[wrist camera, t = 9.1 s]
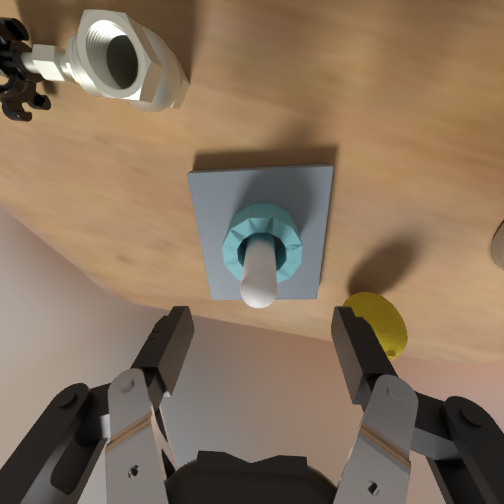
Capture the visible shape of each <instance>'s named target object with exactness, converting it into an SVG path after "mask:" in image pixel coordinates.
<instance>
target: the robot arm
mask: <svg viewBox="0 0 504 504" xmlns="http://www.w3.org/2000/svg"><path fill="white" fill-rule="evenodd" d="M491 254H492V258H493V260H494V262H495V263H496V264H497V265H498V266H499V267H500V268H502V269H504V223H503V224H502V226H501V227H500V228H499V230H498V231H497V233H496V235H495V237H494V239H493V242H492V247H491ZM193 334H194V324H193V320H192V316H191V313H190V309H189V307H188V306H174V307H173V308H172V310H171V312H170V314H169V315H168V316H163V317H162V318H161V319H160V320H159V321H158V322H157V323H156V324H155V326H154V328H153V330H152V333H150V335H149V337H148V340H146V342H145V344H144V346H143V347H142V349H141V351H140V352H139V354H138V356H137V358H136V359H135V361H134V363H133V364H132V366H131V368H130V369H128V370H126V371H124V372H122V373H121V374H119V375H118V376H117V377H116V378H115V379H114V380H113V381H112V383H109V384H105V385H102V386H98V387H95V388H92V389H89V388H88V387H87V385H86V384H83V383H77V384H73V385H71V386H69V387H67V388H65V389H64V390H62V391H61V392H60V393H59V394H57V395H56V397H54V399H53V400H52V401H51V403H50V404H49V405H48V406H47V408H46V409H45V411H44V412H43V413H42V415H41V416H40V417H39V419H38V420H37V421H36V423H35V424H34V425H33V427H32V428H31V429H30V431H29V432H28V433H27V435H26V436H25V438H24V439H23V440H22V441H21V443H20V444H19V445H18V447H17V448H16V450H15V451H14V452H13V454H12V455H11V456H10V458H9V459H8V460H7V462H6V463H5V464H4V466H3V467H2V468H1V470H0V504H77V503H78V500H79V498H80V496H81V494H82V492H83V490H84V488H85V486H86V483H87V481H88V479H89V477H90V475H91V473H92V471H93V468H94V466H95V464H96V462H97V460H98V458H99V456H100V454H101V451H102V449H103V447H104V445H105V443H106V441H107V439H108V437H110V436H111V440H110V443H108V444H107V446H106V449H105V466H106V489H107V504H405V503H406V497H407V490H408V484H409V479H410V472H411V462H410V461H409V453H410V450H412V451H415V452H417V453H420V454H422V455H424V456H426V459H427V461H428V463H429V465H430V467H431V470H432V472H433V474H434V477H435V479H436V481H437V484H438V486H439V488H440V491H441V493H442V495H443V498H444V500H445V502H446V504H504V433H503V432H502V431H501V429H500V428H499V427H498V425H497V424H496V423H495V421H494V420H493V418H492V417H491V416H490V415H489V414H488V413H487V412H486V411H485V410H484V409H483V408H481V407H480V406H479V405H477V404H476V403H474V402H472V401H470V400H468V399H466V398H463V397H459V396H452V397H449V398H447V400H446V401H445V402H444V401H441V400H438V399H435V398H432V397H429V396H426V395H423V394H420V393H418V392H416V391H414V390H413V389H412V388H411V387H410V386H409V385H408V384H407V383H406V382H405V381H403V380H402V379H400V378H399V377H398V375H397V374H396V372H395V370H394V368H393V366H392V365H391V363H390V361H389V359H388V357H387V355H386V353H385V351H384V349H383V347H382V346H381V344H380V343H379V340H378V338H377V336H376V335H375V332H374V330H373V329H372V327H371V325H370V324H369V323H368V322H367V321H366V320H365V319H364V318H363V317H356V316H355V314H354V312H353V310H352V308H351V307H350V306H335V308H334V313H333V319H332V324H331V334H332V339H333V342H334V345H335V348H336V351H337V355H338V358H339V361H340V365H341V368H342V371H343V374H344V377H345V380H346V384H347V387H348V390H349V394H350V397H351V400H352V403H353V404H359V405H361V406H362V409H363V412H364V414H363V417H362V419H361V422H360V425H359V428H358V431H357V433H356V436H355V439H354V442H353V444H352V447H351V450H350V453H349V455H348V458H347V461H346V464H345V466H344V469H343V472H342V474H341V477H340V480H339V483H338V485H337V487H336V486H335V485H334V484H333V483H332V482H331V481H330V480H329V479H328V478H327V477H326V476H325V475H323V474H322V473H321V472H319V471H318V470H316V469H314V468H313V467H311V466H308V465H307V458H306V457H301V456H284V455H278V456H275V457H271V458H268V459H264V460H261V461H258V462H254V463H249V462H246V461H244V460H241V459H239V458H237V457H234V456H232V455H230V454H227V453H225V452H214V451H198V455H197V459H196V460H193V461H191V462H189V463H187V464H185V465H184V466H182V467H180V468H179V469H178V465H177V462H176V459H175V456H174V454H173V451H172V448H171V445H170V442H169V437H168V434H167V430H166V426H165V422H164V418H163V414H162V410H161V407H160V403H161V400H162V398H163V396H165V397H171V396H172V393H173V390H174V387H175V385H176V382H177V379H178V376H179V373H180V371H181V368H182V365H183V362H184V359H185V357H186V354H187V351H188V349H189V346H190V343H191V340H192V337H193Z"/></svg>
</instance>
